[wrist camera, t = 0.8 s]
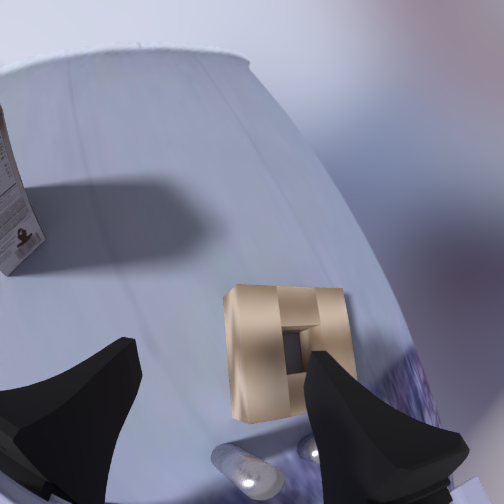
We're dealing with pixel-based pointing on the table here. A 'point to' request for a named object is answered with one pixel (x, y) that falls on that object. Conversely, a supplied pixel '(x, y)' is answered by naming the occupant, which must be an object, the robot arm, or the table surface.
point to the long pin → (248, 472)
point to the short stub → (308, 449)
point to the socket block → (280, 345)
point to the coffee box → (14, 210)
